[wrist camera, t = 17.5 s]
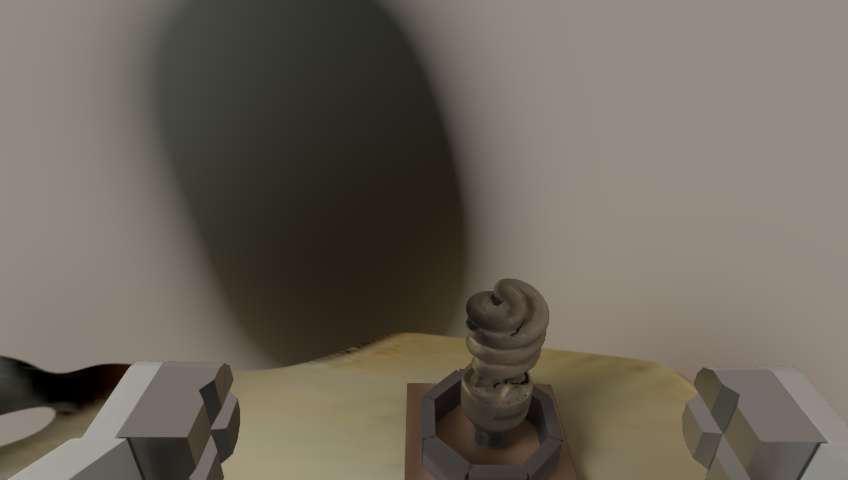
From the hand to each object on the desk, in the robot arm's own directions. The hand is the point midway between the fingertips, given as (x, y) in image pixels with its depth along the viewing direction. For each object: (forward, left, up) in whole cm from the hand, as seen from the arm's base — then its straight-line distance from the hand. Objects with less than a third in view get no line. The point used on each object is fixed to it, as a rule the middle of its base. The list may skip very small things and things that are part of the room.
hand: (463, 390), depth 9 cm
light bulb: (+5, +22, -29) cm, 37 cm away
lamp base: (+5, +22, -30) cm, 38 cm away
